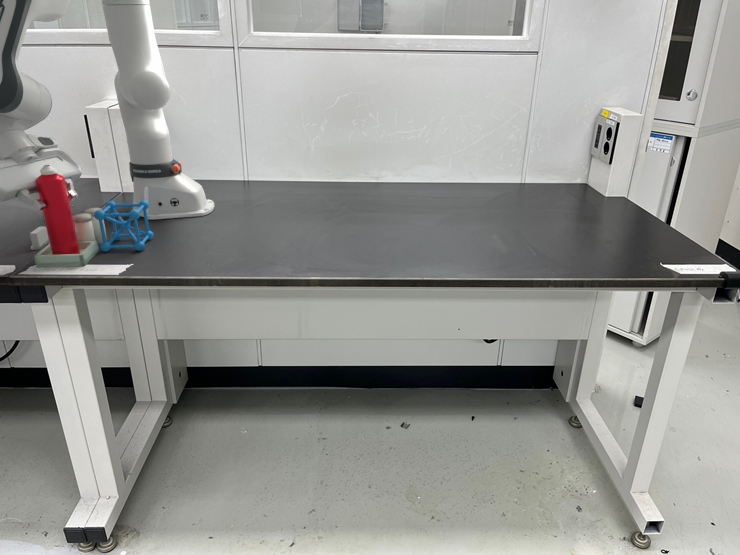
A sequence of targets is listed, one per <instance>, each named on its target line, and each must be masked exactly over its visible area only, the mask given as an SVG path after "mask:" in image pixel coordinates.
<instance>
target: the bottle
mask: <svg viewBox="0 0 740 555" xmlns="http://www.w3.org/2000/svg"><path fill="white" fill-rule="evenodd" d="M40 173H41V175H40V176H38V177H37V178H36V180H35V182H36V186H37V191H38V192H37V194H38V199H41V200H42V201H43V203H45V205H46V206H45V208H44V209H43V210H41V212H42V216H43V221H44V226H45V227H46V230H47V234H48V238H49V244H50V247H51V251H52V255H60V254H80V250H79V245H78V240H77V236H76V231H75V229H76V228H75V223H74V221H73V214H72V208H71V203H70V202H71V201H69V198H68V193H67V188H66V183H65V179H64V177H63V176H62V175H59V174H57V173H56V169H55V168H53V167H51V166H50V165H45V166H43V168H42V169H41V170H40Z"/></svg>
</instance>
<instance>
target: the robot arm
mask: <svg viewBox="0 0 740 555" xmlns="http://www.w3.org/2000/svg"><path fill="white" fill-rule="evenodd" d="M70 3H71V0H0V203H3V202H6V201H9V200H14V199H19V201H21V202H22V203H24V204H27V205H28V206H31V207H32V208H33V209H34V210H35V211H36V212H39V211H42V210H43V209H44V208H45V206H46V205H45V203H43V201H42V200H41V199H39V198H38V199H37V198H35V197H33V196H32V194H38V191H37V186H36V182H35V180H36V178H37V177H38V176H40V175H41V173H40V170H41V169H42V168H43V166H45V165H50V166H51V167H53V168H55V169H56V173H57V174H59V175H62V176H63V177H64V179H65V183H66V188H67V193H68V198H69V202H73V201H76V200H78V197H79V194H78V193H77V191H75V190H74V189H75V187H74V183H77V182H79V179H80V178H81V176H82V174H83V169H82V167H81V166H80V164H79V163H78V162H77V161H76V160H75V159H74V157H72V155H71V154H70V153H69V152H68V151H66V150H65V149H63V148H61V147H58V146H59V141H57V140H56V139H55V138H53V137H50V136H39V135H34V134H29V133H26V130H28V129H30V128H32V127H34V126H36V125H37V124H39V123H41V122H42V121H43V120H46V118H47V117H48V116H49V115H50V113H51V111H52V106H53V98H52V95H51V94H50V92H49V90H48V89H47V87H46V86H45V85H44V84H42V83H40V82H39V81H37V80H36V79H34V78H32V77H31V76H29V75H27V74H25V73H24V72H22V71H21V70H20V68H19V64H18V61H19V56H20V53H21V49H22V46H23V43H24V40H25V35H26V32H27V29H29V28H28V27H29V26H30V25H31V24H32V23H33V22H43V23H48V22H49V23H50V22H54V21H58V20H60V19H61V18H63V17H64V16H65V15H66V13H67V11H68V9H69V6H70ZM101 5H102V11H103V15H104V20H105V26H106V30H107V35H108V39H109V43H110V46H111V49H112V52H113V56H114V58H115V62H116V65H117V68H118V71H117V72H116V74H115V75H114V76H115V77H114V89H115V94H116V98H117V103H118V107H119V112H120V115H121V120H122V123H123V126H124V130H125V136H126V142H127V149H128V153H129V159H130V161H129V163H128V164H129V174H130V175H129V176H130V179H131V182H132V184H133V185H132V186H133V201H132V202H133V203H132V204H139V202H140V201H142V200H145V201H147V202H148V203H149V207H148V209H146V211H147V218H148V221H149V220H163V219H175V218H177V219H179V218H180V219H181V218H193V217H202V216H207V215H208V214H210V213H212V212H213V211H214V209H215V202H214V201H213V200H212V199H209V198H208V199H207V197H206V193H205V191H204V188H203V186H202V185H201V184H200V183H199V182H197V181H196V180H194V179H192V178H191V177H189V176H188V175H186V174H184V173H183V172H182V161H181V160H180V161H178V160H176V159H174V157H173V152H172V150H173V149H172V142H171V136H170V135H171V134H170V129H169V126H168V124H167V121H166V117H165V113H164V110H163V107H165V106H166V105H167V103H168V102H169V100H170V96H171V87H170V84H169V82H168V79H167V75H166V71H165V67H164V64H163V59H162V57H161V52H160V49H159V46H158V42H157V39H156V33H155V29H154V28H155V27H154V22H153V15H152V10H151V3H150V0H101ZM138 208H139V207H132V210H134V209H135V210H137V209H138ZM140 217H143V218H144V213H143V210H141V211H140Z"/></svg>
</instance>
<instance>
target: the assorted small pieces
mask: <svg viewBox="0 0 740 555" xmlns="http://www.w3.org/2000/svg"><path fill="white" fill-rule="evenodd" d="M97 210H103V208H101V207H92V208H91V207H89V208H86V209H85V210H84V213H77V214H75V215H72V217H73V221H74V226H75V231H76V236H77V240H78V245H79V250H80V254H60V255H52V251H51V247H50V242H49V238H48V234H47V229H46V226H38V227H37V228H35V229H34V230H32V231H31V232H30V233H29V236H30V240H31V244H32V245H30V249H31V250H32V251H35V250H36V251H38V250H39V252H37V253H36V254H35V255H34V256H33V259H34V262H35V266H36V268H53V267H55V268H56V267H57V268H58V267H62V268H63V267H86V266H87V265H88V263H89V262H91V260H92V259H93V258H94V257H95V256H96V255H97V254H98V253H99V252H100V251H99V245H101V243H103V239H102V234H101V229H100V224H99V220H97V219H96V218H95V217H94V213H95V211H97ZM102 221H103V226H104V231H105V237H106V242H108V236H107V232H106V231H107V230H106V226H105V219H103V220H102Z"/></svg>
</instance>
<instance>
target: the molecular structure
mask: <svg viewBox="0 0 740 555" xmlns="http://www.w3.org/2000/svg"><path fill="white" fill-rule="evenodd" d="M133 207H139V208H138V209H137V210H135V209H134V210H133V209H131V210H130V211H128V212H121V213H120V212H118V211H117V209H116V208H133ZM148 207H149V203H148V202H147V201H145V200H142V201H140V202H139V204H133V203H116V202H115V201H114V200H108V201H107V202H106V203H105V207H104V209H102V210H97V211H95V213H94V217H95V218H96V219H97V220H99V224H100V229H101V234H102V239H103V243H101V244H99V248H100V250H101V251H103V252H110V250H111V249H127V248H128V249H130V248H133V249H135V250H136V251H137V252H143V251H144V250H145V248H146V244H145V243H146V242H147V241H150V240H152V239H153V238H154V232H153V231H151V230H150V225H149V224H150V223H149V219H148V218H147V211H146V209H148ZM141 210H143V213H144V217H143V218H144V219H143V220H144V223H145V224H144V225H145V231H143V230H141V229H139V228H140V227H139V225H138V219H139V218H140V217H141V216H140V211H141ZM108 211H110V213H108ZM115 217H116V218H117V219H118V220H117V219H116V218H115ZM123 217H128V218H127V220H124V219H123ZM103 219H104V220H107V221H110V222H111V223H112V229H113V231H112V232H111V234H110V236H111V238H110V239H109V240H107V242H106V237H105V231H104V226H103V221H102V220H103ZM132 221H133V224H134V226H131V223H132ZM117 225H119V229H118V230H117ZM124 231H126V232H127V233H122V232H124ZM132 231H133V232H135V233H133V232H132ZM121 238H131V239H132V240H133V242H134V244H112V243H113V242H114V241H117V242H118V241H119V240H121ZM141 238H143V239H141Z"/></svg>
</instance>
